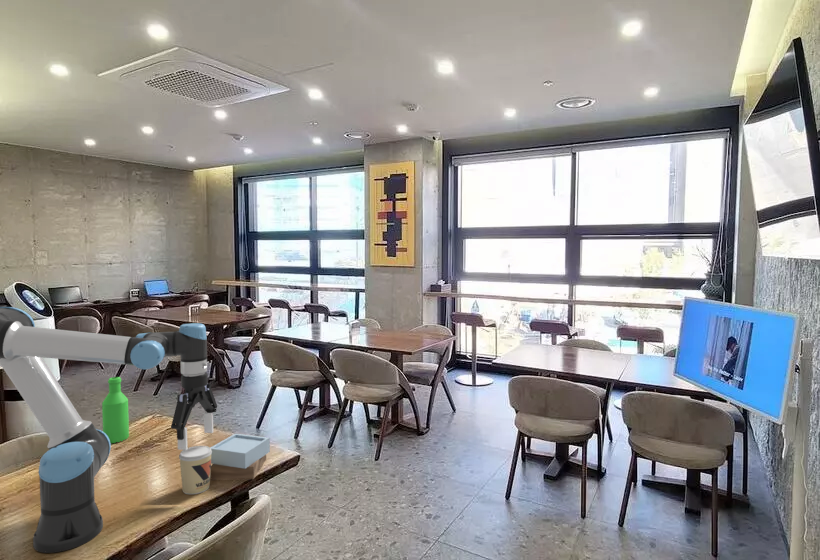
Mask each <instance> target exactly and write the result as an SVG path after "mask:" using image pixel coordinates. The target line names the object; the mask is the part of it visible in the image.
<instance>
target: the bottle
mask: <svg viewBox="0 0 820 560" xmlns="http://www.w3.org/2000/svg"><path fill="white" fill-rule="evenodd" d="M121 382H122V378H121V377H120V376H113V377H110V378H108V381H107V384H108V393H107V395H106V397H105V398H104V400H103V401H102V403H101V406H102V407H101V409H102V411H101V412H102V414H101V415H102V416H101V417H102V431H103V432H104V433H105V434H106V435H107V436H108V437H109V440H110V443H111V444H117V443H116V442H118V443H120V441H121V442H123V440H124V441H125V439H126V440H127V439H128V438H130V424H129V423H130V422H129V420H130V419H129V398H128V397H127V396H126V395H125V394H124V393H123V392H122V390H121V389H122V388H121V387H122V385H121Z"/></svg>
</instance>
